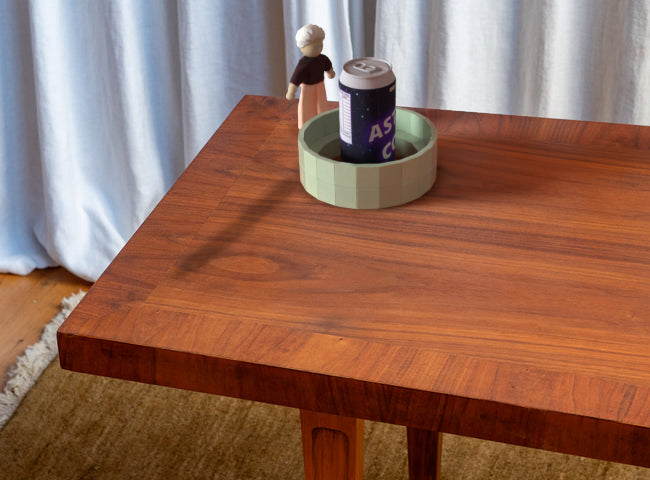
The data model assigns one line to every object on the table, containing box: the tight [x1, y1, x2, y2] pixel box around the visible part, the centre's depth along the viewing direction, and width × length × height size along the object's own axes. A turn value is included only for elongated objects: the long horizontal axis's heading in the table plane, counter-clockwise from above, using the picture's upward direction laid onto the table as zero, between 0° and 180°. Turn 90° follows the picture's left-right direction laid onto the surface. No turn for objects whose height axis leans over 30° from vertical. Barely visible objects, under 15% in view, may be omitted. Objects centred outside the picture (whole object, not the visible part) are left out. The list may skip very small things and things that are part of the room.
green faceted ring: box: [297, 105, 439, 210], centre depth 92 cm, size 14×14×6 cm
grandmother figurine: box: [285, 23, 337, 130], centre depth 100 cm, size 8×4×13 cm, turn 150°
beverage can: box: [338, 56, 397, 164], centre depth 90 cm, size 6×6×12 cm
